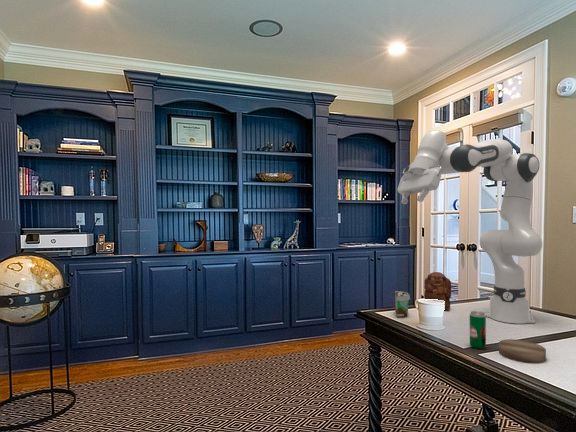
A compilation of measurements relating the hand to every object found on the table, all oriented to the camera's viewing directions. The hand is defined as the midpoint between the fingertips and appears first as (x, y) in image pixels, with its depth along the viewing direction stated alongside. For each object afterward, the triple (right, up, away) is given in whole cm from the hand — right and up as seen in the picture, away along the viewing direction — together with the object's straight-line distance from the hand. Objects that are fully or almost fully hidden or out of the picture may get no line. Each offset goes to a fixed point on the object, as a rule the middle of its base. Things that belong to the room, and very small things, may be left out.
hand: (411, 202), depth 138 cm
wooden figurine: (+27, -51, +42) cm, 71 cm away
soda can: (+20, -51, -9) cm, 55 cm away
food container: (+7, -51, +32) cm, 60 cm away
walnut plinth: (+31, -51, -17) cm, 61 cm away
